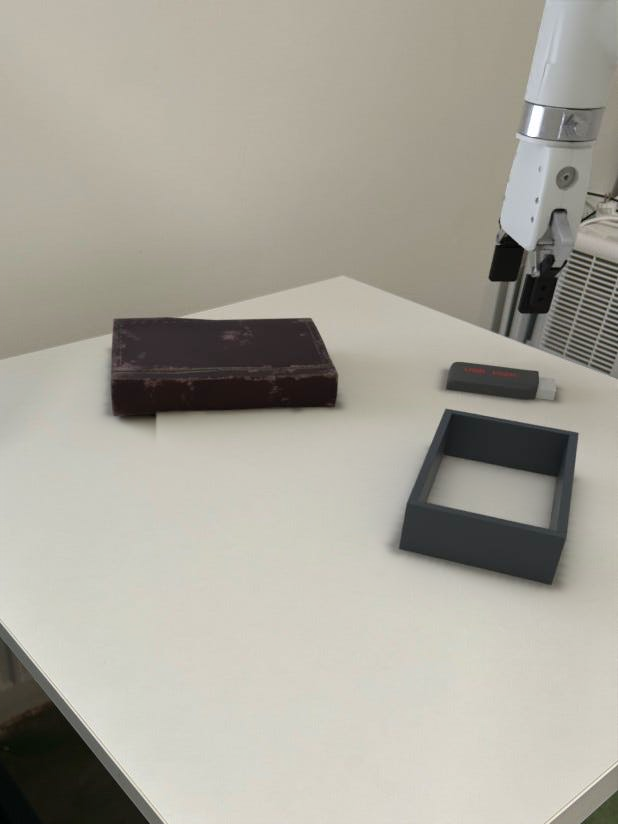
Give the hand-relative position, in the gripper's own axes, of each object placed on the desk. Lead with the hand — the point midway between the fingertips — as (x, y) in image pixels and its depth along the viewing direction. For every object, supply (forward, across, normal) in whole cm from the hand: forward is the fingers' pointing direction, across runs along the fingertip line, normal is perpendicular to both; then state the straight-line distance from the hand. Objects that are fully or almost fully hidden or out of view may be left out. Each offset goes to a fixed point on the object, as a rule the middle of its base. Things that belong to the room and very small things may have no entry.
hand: (516, 296), depth 90 cm
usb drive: (+12, 0, -1) cm, 12 cm away
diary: (+13, +4, +32) cm, 35 cm away
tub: (+12, -25, +9) cm, 29 cm away
